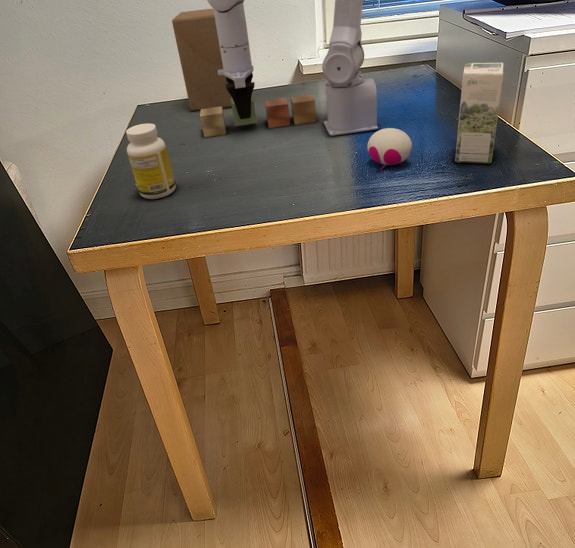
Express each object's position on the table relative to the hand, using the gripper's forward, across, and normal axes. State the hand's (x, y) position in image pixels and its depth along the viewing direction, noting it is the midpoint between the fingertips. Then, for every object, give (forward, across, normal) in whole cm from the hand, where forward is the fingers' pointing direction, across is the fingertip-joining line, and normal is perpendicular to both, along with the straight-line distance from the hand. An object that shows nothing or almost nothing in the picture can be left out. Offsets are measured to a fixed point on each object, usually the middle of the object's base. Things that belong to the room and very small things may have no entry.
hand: (244, 114), depth 108 cm
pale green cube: (+1, 0, 0) cm, 1 cm away
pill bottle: (+3, +26, -16) cm, 31 cm away
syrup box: (+3, +30, +37) cm, 48 cm away
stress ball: (+3, +28, +23) cm, 36 cm away
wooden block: (+3, -21, -7) cm, 22 cm away
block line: (+3, 0, +3) cm, 4 cm away
